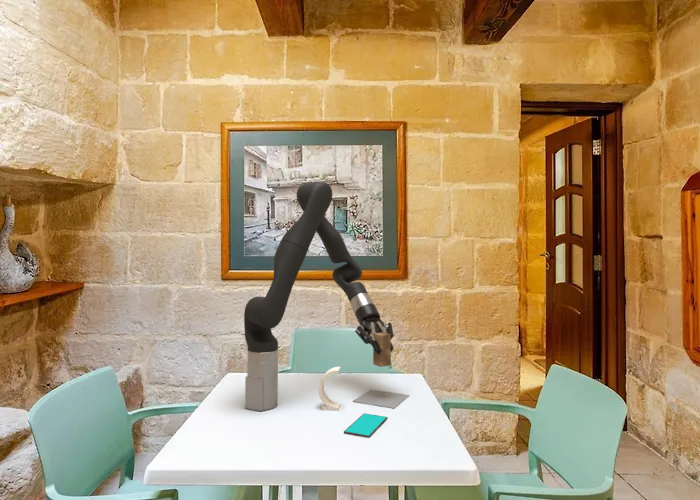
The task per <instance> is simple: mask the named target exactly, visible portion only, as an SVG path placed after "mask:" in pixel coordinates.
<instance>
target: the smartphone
mask: <svg viewBox="0 0 700 500" xmlns="http://www.w3.org/2000/svg"><path fill="white" fill-rule="evenodd" d="M387 420H388V416H384V415H376V414H369V413H365V412H364V413H363V414H362V415H360V416H359V417H358V418H357V419H356V420H355V421H354V422H352V424H351V425H349V426H348V427H347V428H346V429H345V430H344V431H343V434H345V435H350V436H356V437H360V438H367V439H370V438H371V437H372V436H373V435H374V434H375V433H376V431H378V429H379V428H381V427H382V426H383V424H385V422H387Z"/></svg>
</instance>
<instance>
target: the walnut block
mask: <svg viewBox="0 0 700 500" xmlns="http://www.w3.org/2000/svg"><path fill="white" fill-rule="evenodd" d="M375 337H376V341H377V342H378V344H379V346H380V348H381V350H382V352H381V353H380V354H377V353H376V352H375V351H374V349H373V348H372V351H373V352H372V353H373V354H372V355H373V356H372V360H373V361H372V364H373V365H375V366H376V367H379V368H381V367H388V366H391V365H392V364H391V362H392V361H391V360H392V359H391V355H392V354H391V353H392V352H391V351H390V346H391V343H392V339H391V334H388V333H383V332H381V333H376V334H375Z"/></svg>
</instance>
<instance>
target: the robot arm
mask: <svg viewBox="0 0 700 500" xmlns="http://www.w3.org/2000/svg"><path fill="white" fill-rule="evenodd" d="M296 200H297V203H298V205H299V207H300V208H301V210H302V214H301V216H300V217H299V219H297V220H296V221H295V222H294V224H292V226H291V227H290V228H288V230H287V231H286V232H285V233H284V234H283V236H282V237H281V239H280V242H279V244H278V245H277V248H276V250H275V254H274V255H273V256H274V257H273V279H272V281H271V284H270V287H269V289H268V290H267V293H266V295H265V296H253V297H252V298H250V299H249V300H248V302H247V303H246V305H245V308H244V312H243V313H244V315H243V316H244V317H243V319H244V321H243V323H244V339H245V342H246V345H247V346H246V347H247V356H246V357H247V362H246V363H247V365H246V367H247V369H246V371H247V375H246V376H245V378H244V379H245V381H244V383H245V386H244V387H245V389H244V391H245V393H244V398H245V402H244V408H245V409H248V410H252V411H253V410H254V411H258V412H263V411H267V410H271V409H274V408H277V406H278V403H279V400H278V396H279V393H278V392H279V389H278V388H279V386H278V384H279V383H278V382H279V376H278V375H279V341H278V338H277V337H275V336H274V333H273V332H272V329H274V328H276V327H277V326H279V324H280V323H281V322H282V320H283V317H284V315H285V312H286V308H287V306H288V301H289V298H290V295H291V292H292V289H293V287H294V284H295V282H296V280H297V277H298V274H299V273H300V272H299V271H300V269H301V267H302V265H303V263H304V261H305V258H306V256H307V254H308V251H309V248H310V247H311V244H312V242H313V239H314V238H315V235H316V233H317V234H318V236H319V238H320V240H321V241H322V245H323V246H324V249H325V251H326V253H327V256H328V258H329V260H330V261H331V263H333V264H340V263H345V264H342V265H340V266H338V267H336V268H334V269H333V271H332V280H333V281H334V283H336V284H337V286H338V287H339V288H340V289H341V290H342V291H343V292H344V294H345V295H346V297H347V300H348V301H349V304H350V306H351V310H352V311H353V313H354V317H355V318H356V320H357V322H358V324H359V325H357V327H356V328H355V331H354V332H355V333H356V334H357V336H358V337H359V338H360V339H361V340H362V342H363V343H364V344H365V345H368V344H369V345H370V346H371V347H372V350H373V349H374V351H375V352H376V353H377V354H380V353H381V352H382V350H381V348H380V346H379V344H378V342H377V341H376V337H375V334H376V333H381V332H383V333H388V334H391V340H392V339H393V338H394V335H395V334H394V331H393V325H392V323H391V322H388V323H385V322H384V321H382V319H381V315H380V312H379V311H378V309H377V307H376V305H375V302H374V301H373V299H372V297H371V296H370V295H369V292H368V291H367V289H366V287H365V285H364V284H363V283H362V282H361V281H358V280H360V279H361V278H362V275H363V271H362V268H361V267H360V265H359V264H358V262H356V260H355V259H354V258H353V257H352V255H351V253H350V252H349V249H348V247H347V245H346V243H345V241H344V238H343V236H342V235H341V233H340V232H339V231H338V229H336V227H334V225H333V224H332V223H331V222H330V220H328V218H327V217H326V213H327V212H328V210H329V208H330V205H331V203H332V200H333V189H332V187H331V185H330V184H329V183H328V182H326V181H325V182H324V181H315V182H307V183H303V184H300V186H299V187H298V189H297V192H296ZM393 350H394V346H393V343H392V342H391V346H390V351H391V353H393Z"/></svg>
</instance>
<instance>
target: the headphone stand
mask: <svg viewBox="0 0 700 500" xmlns="http://www.w3.org/2000/svg"><path fill="white" fill-rule="evenodd" d="M340 371H341V366H334V367H331V368H329V369H328V370H327V371H326V372H325V373H324V374H323V376H322V378H321V379H320V382H319V384H318V395H319V399H320V401H321V402H322V406H321V411H339V409H340V407H341V402H337V401H334V400H332V399H331V398H330V397H329V396H328V394H327V393H326V390H325V380H326V379H327V378H328V377H329V376H331V375H335V374H339V373H340Z"/></svg>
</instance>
